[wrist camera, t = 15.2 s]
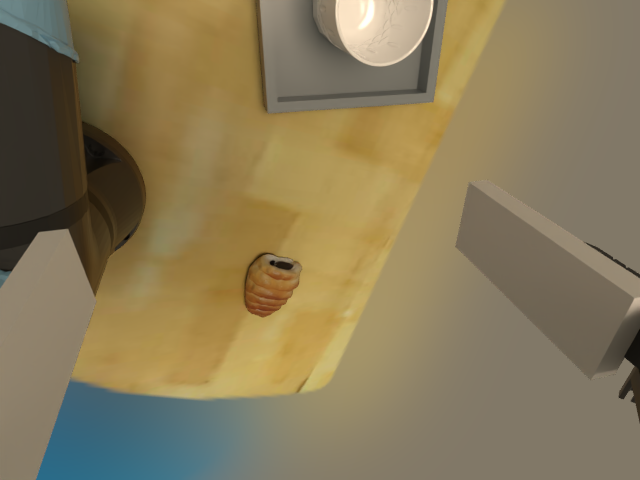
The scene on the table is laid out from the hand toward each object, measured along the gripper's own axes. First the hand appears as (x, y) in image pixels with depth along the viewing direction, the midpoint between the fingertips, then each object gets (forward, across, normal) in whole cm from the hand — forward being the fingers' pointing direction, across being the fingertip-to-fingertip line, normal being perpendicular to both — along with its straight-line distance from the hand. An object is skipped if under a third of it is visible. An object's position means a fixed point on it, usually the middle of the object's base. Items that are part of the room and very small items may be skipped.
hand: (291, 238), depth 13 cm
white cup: (+31, +12, +6) cm, 34 cm away
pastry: (+32, +2, -26) cm, 41 cm away
